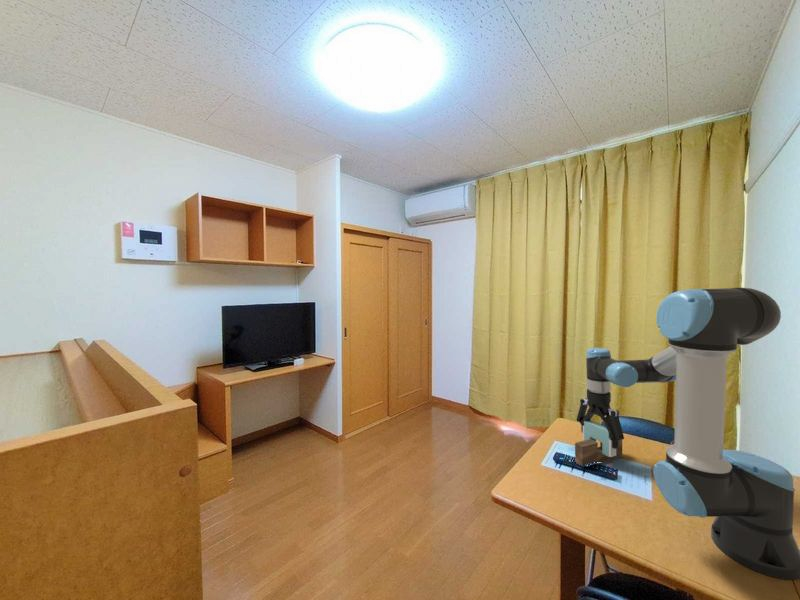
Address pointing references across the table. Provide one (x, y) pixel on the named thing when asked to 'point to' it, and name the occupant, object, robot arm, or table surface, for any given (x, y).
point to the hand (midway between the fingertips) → (598, 448)
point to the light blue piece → (597, 434)
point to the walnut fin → (593, 452)
